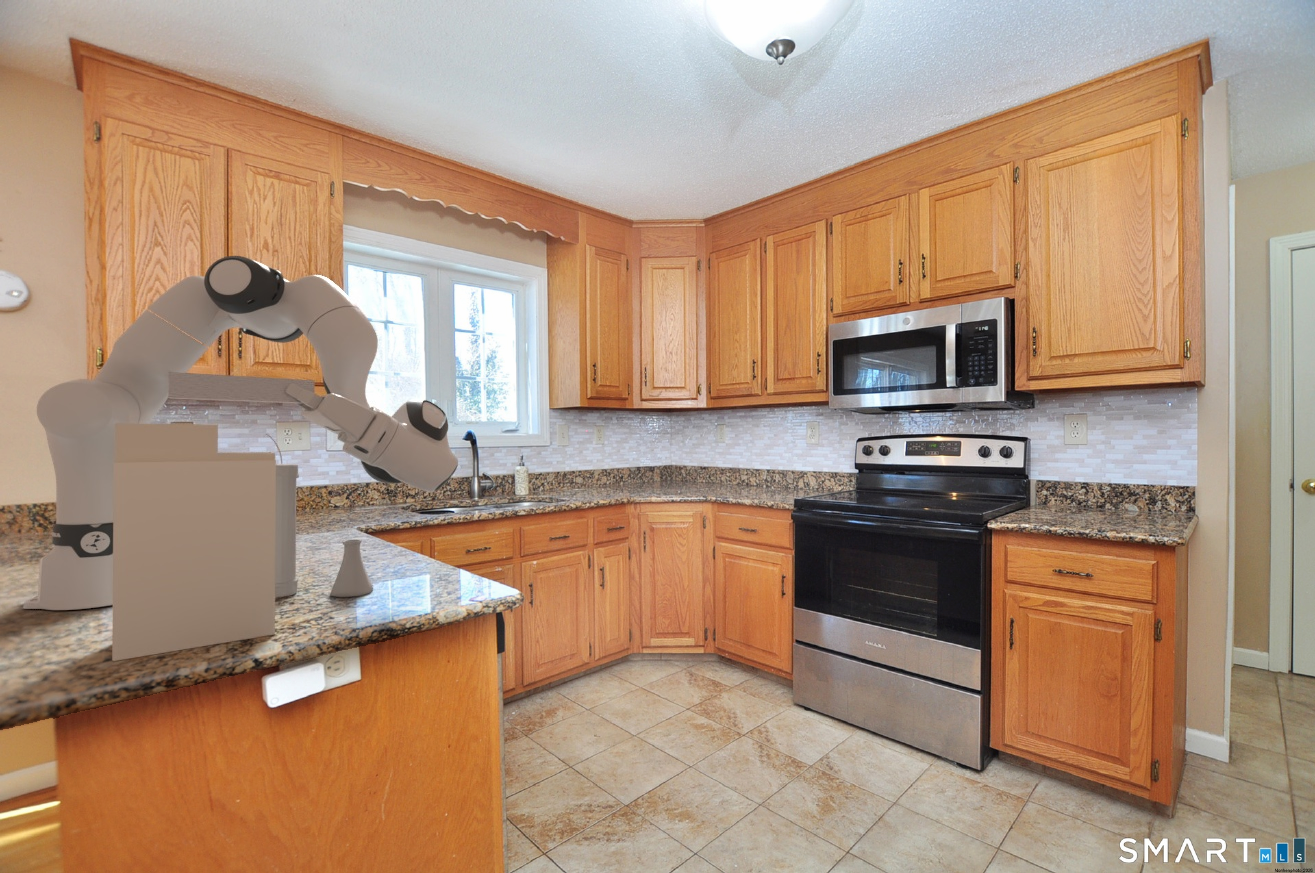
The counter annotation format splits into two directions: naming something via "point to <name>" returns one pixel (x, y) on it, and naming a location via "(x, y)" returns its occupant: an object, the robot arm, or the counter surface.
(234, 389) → the bar
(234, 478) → the stepped beige panel
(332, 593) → the flask
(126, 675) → the counter surface
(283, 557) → the pipe
